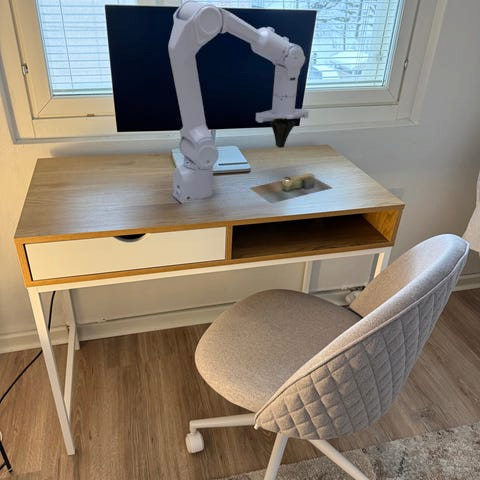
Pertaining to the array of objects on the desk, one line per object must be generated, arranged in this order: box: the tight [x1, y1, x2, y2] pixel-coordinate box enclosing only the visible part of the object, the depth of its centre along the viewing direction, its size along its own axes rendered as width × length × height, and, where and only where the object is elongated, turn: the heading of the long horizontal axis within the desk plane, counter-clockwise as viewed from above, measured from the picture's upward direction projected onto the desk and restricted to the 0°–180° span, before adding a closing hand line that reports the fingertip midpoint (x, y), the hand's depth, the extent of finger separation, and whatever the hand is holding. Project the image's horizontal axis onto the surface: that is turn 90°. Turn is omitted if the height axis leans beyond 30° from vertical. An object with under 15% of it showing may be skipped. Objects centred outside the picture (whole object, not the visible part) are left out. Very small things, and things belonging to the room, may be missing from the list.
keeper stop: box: [303, 177, 315, 190], centre depth 121 cm, size 3×1×2 cm, turn 122°
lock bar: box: [281, 172, 315, 191], centre depth 121 cm, size 9×3×3 cm, turn 120°
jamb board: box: [249, 177, 333, 204], centre depth 122 cm, size 20×10×1 cm, turn 122°
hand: (279, 146), depth 123 cm, fingers closed
